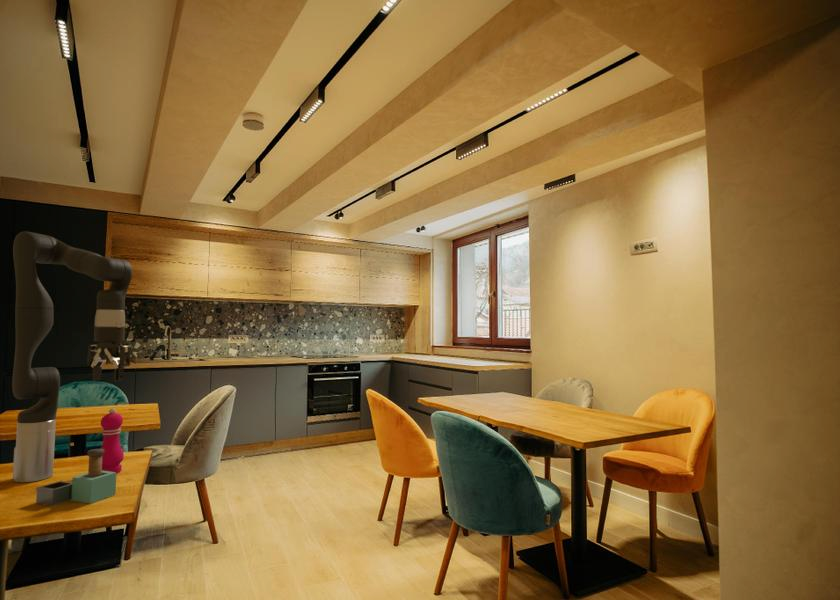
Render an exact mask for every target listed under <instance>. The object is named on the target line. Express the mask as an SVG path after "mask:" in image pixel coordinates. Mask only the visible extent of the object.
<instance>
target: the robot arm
mask: <svg viewBox="0 0 840 600" xmlns="http://www.w3.org/2000/svg"><path fill="white" fill-rule="evenodd" d="M12 256H13V265H14V266H13V267H14V275H15V309H14V310H15V313H14V315H15V317H14V320H15V325H14V326H15V351H14V362H13V371H12V383H11V386H12V393H13V396H14V397H15V399H17V400H30V399H31V400H32V399H33V400H34V399H39V400H38V402H36V404H34V405H32V406H30V407H28V408H26V409H24V410H22V411H19V412H18V414H17V418H16V419H17V420H16V421H17V422H16V436H15V438H16V440H15V447H14V449H13V466H12V480H13V481H14V482H16V483H31V482H38V481H42V480H46V479H48V478H51V477H52V476H53V475H54V465H55V464H54V461H55V443H56V442H55V441H56V425H57V424H56V422H57V421H56V420H57V419H56V418H57V412H58V406H59V397H60V387H61V375H60V372H59V370H58V369H57V368H56V367H54V366H47V367H44V366H43V367H42V366H41V367H32V362H33V357H34V355H35V353H36V350H37V349H38V347H39V346H40V344H41V343H42V342H43V341H44V340H45V338H46V337H47V336H48V335H49V333H50V332H51V330H52V327H53V326H54V314H55V313H54V310H55V309H54V303H53V301H52V298H51V296H50V295H49V293H48V291H47V290H46V288H45V287H44V286H43V284H42V283H41V280H40V279H39V276H38V272H37V264H42V265H49V264H50V265H62V266H66V267H67V268H68V269H69V270H72V271H73V272H76V273H79V274H83V275H87V277H90V278H92V279H94V280H96V281H99V282H100V281H102V282H109V283H110V285H109V288H108V289H102V290H99V291H97V295H96V311H95V316H94V333H93V336H94V337H93V341H94V342H95V343H97V344H89V345H88V347H87V359H86V364H87V366H90V367H91V368H92V376H91V377H92V381H100V380H102V376H103V375H102V371H103V370H102V369H103V367H102V366H103V365H104V363H105V362H107V361H109V362H110V363H111V364H113V366H114V373H113V374H114V375H113V381H114V382H118V383H119V382H123V379H124V369H125V368H126V367H129V366H131V346H130V345H122V342H124V341H125V333H126V331H125V330H126V312H125V309H126V296H127V292H128V290H129V287H130V284H131V282H132V278H133V273H134V272H133V267H132V265H131V263H130V262H129V261H127V260H126V259H119V258H112V257H106V256H102V255H101V254H99V253H96V252H93V251H89V250H86V249H82V248H78V247H73V246H71V245H68V244H66V243H64V242H63V241H61V240H59V239H57V238H55V237H53V236H51V235H48V234H41V233H38V232H31V231H27V230H26V231H21V232H19V233H18V234H16V236H15V238H14V240H13V246H12Z"/></svg>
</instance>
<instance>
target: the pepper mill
mask: <svg viewBox="0 0 840 600" xmlns="http://www.w3.org/2000/svg"><path fill="white" fill-rule="evenodd" d="M116 412H117V410H116V409H115V407H113V408H110V409H109V410H108V413H106V414H105V415H104V416H102V417H101V419H100V426H101V428H102V431H101V432H102V433H101V435H103V441H102V443H101V444H102V445H101V447H100V449H104V454H102V471H109V472H116V474H118V472H119V473H121V472H122V468H123V467H122V464H121V463H122V462H123V461H124V455H125V454H124V451H123V449H122V446H121V444H120V433H122V431H121V429H122V428H121V426H123V424H124V423H123V422H124V418H123V416H122V415H121V413H116ZM120 471H121V472H120Z"/></svg>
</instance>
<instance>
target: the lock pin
mask: <svg viewBox="0 0 840 600" xmlns="http://www.w3.org/2000/svg"><path fill="white" fill-rule="evenodd" d="M86 453H87V454H86V456H88V468H87V469H88V472H87V473H88V477H89V478H95V477H98V476H102V454H104V449H101V448H94V449H92V448H91V449H90V450H87V452H86Z"/></svg>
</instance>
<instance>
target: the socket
mask: <svg viewBox="0 0 840 600" xmlns="http://www.w3.org/2000/svg"><path fill="white" fill-rule="evenodd" d="M71 482H72V499H71V500H70V501H72V502H73V501H74V502H79V503H85V504H93V503H96V501H97V502H99V500H100V501H102V500H105V499H107V497H108V498H111V497H113V496H112V495H114V496H116V495H117V494H116V493H117V491H116V490H117V489H116V488H117V473H116V472H109V471H102V476H98V477H95V478H89V477H88V472H86V473H82V474H79V475H76V476H73V477H72V479H71ZM115 494H116V495H115ZM110 496H111V497H110ZM104 498H105V499H104Z"/></svg>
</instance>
